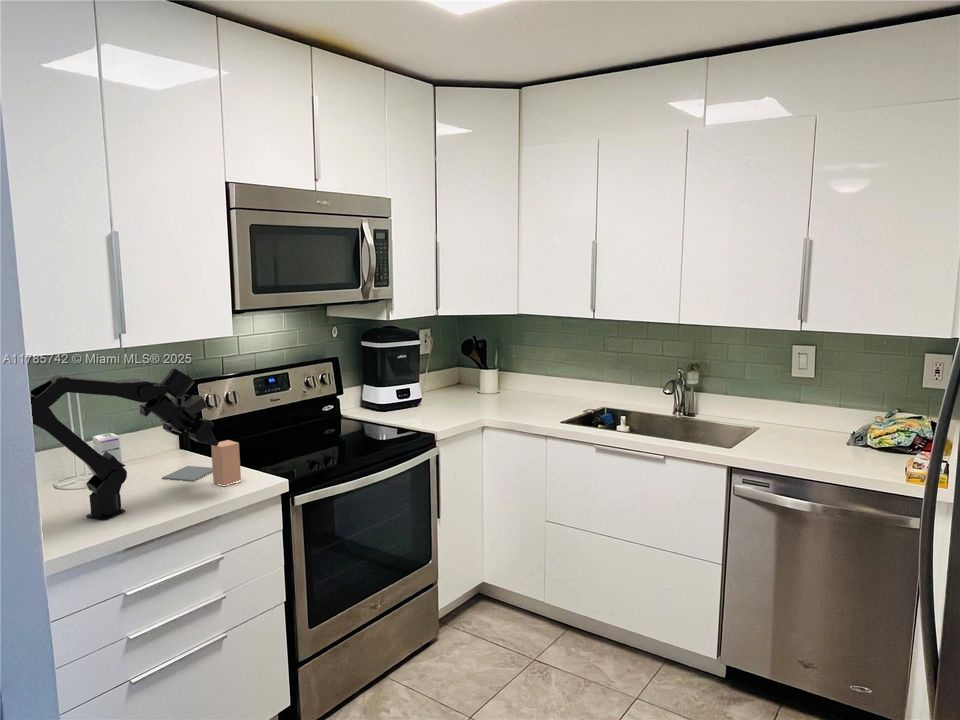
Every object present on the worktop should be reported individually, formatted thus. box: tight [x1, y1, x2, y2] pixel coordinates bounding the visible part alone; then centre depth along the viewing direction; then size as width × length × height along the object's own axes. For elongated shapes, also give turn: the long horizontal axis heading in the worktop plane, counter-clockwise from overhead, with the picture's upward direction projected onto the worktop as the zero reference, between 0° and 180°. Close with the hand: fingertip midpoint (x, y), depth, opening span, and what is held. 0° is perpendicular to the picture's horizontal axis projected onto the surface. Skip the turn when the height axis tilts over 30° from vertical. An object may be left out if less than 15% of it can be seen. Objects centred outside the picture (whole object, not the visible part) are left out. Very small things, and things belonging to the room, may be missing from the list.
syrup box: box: [92, 432, 123, 464], centre depth 198 cm, size 6×6×14 cm
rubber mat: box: [161, 465, 213, 482], centre depth 207 cm, size 12×11×1 cm
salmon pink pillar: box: [210, 439, 242, 485], centre depth 198 cm, size 6×6×12 cm
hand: (208, 441), depth 193 cm, fingers open, 9 cm apart
